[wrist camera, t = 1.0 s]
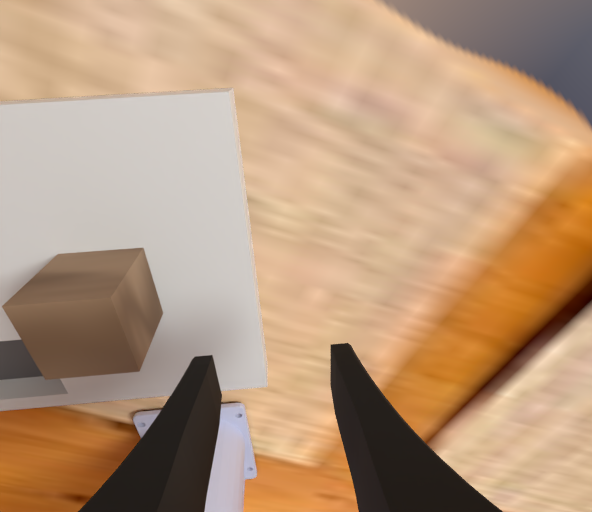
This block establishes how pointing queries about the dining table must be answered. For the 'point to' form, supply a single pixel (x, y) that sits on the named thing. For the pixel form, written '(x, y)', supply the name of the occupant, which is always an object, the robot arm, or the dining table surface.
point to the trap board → (133, 231)
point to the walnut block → (88, 313)
